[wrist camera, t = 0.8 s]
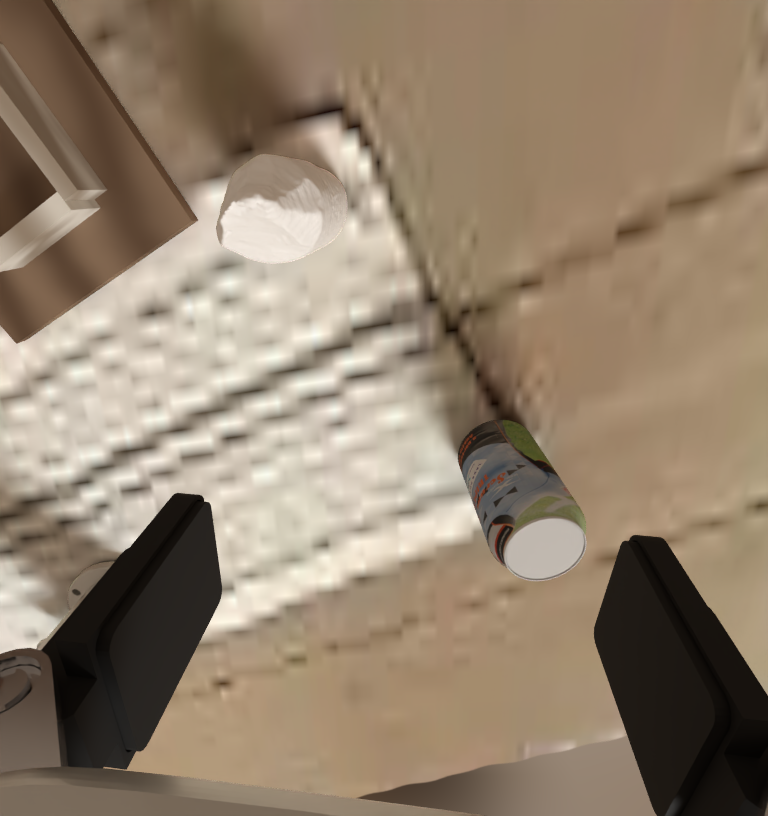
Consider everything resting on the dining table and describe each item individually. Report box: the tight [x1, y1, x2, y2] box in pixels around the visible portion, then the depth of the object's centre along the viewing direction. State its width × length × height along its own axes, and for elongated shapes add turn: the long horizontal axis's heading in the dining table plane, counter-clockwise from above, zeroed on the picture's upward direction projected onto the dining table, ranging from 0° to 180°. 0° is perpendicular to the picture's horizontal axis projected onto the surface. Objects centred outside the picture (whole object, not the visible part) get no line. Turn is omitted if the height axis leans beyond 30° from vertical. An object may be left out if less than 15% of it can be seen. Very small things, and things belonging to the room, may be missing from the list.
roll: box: [216, 154, 347, 263], centre depth 27 cm, size 6×12×6 cm
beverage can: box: [458, 420, 586, 581], centre depth 33 cm, size 6×7×12 cm
